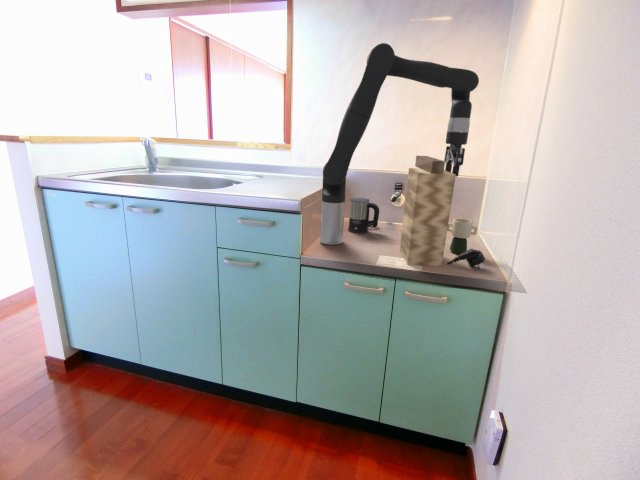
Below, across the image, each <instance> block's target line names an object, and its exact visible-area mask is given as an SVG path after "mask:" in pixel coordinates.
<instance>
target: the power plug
mask: <svg viewBox="0 0 640 480" xmlns="http://www.w3.org/2000/svg"><path fill="white" fill-rule="evenodd" d="M463 260H465V261H467V262H466V263H468V265H469V267H476V266H478V269H480V270H483V267H482V266H481V264H482V263H484V262H485V260H486V257H485V255H484V253H483V252H482V251H481V250H480V249H479V250H478V249H474V248H469V249H467V251H465V252H463V253H459V254H458V255H457V256H456V257H453V259H452V260H451V261H449V262H446V265H451V264H452V263H457V262H460V261H463Z"/></svg>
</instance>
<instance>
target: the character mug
mask: <svg viewBox="0 0 640 480" xmlns="http://www.w3.org/2000/svg"><path fill="white" fill-rule="evenodd" d="M473 224H474V221H473V220H471V219H469V218H462V217H459V218H457V217H456V218H453V220H452V222H448V228H447V232H451V236H452V237H453V238H452V240H451V244H450V246H449V250H450V251H451V252H453V253H455V254H462V253H463V252H465V251H467V250H468V239H469V238H470V237H471V236H476V235H477V233H478V227H477V226H474V225H473ZM450 226H451V228H450ZM472 230H473V232H472Z"/></svg>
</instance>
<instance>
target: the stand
mask: <svg viewBox="0 0 640 480" xmlns="http://www.w3.org/2000/svg"><path fill="white" fill-rule="evenodd" d="M407 174H408V175H407V181H406V191H405V198H404V199H405V200H404V201H405V202H404V209H403V210H404V211H403V220H402V229H401V237H400V246H399V252H400V253H401V255H402V257H403V259H404V261H405V263H406V265H408V266H409V265H410V266H411V265H412V266H430V267H431V266H432V267H442V266H443V260H444V253H445V248H446V242H447V241H446V240H447V236H448V235H447V233H448V231H447V228H448V223H450V222H449V221H450V215H451V208H452V202H453V194H454V188H455V182H456V178H457V177H456V174H453V173H452V172H451V173H450V172H448V171H445V169H444V173H443V174H431V173H429V172H427V171H424V170H422V169H420V168H418V167H415V168H414V167H409V168H408V173H407Z"/></svg>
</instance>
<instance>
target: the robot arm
mask: <svg viewBox="0 0 640 480" xmlns="http://www.w3.org/2000/svg"><path fill="white" fill-rule="evenodd" d="M387 76H388V77H396V78H402V79H406V80H411V81H414V82H418V83H421V84H425V85H428V86H431V87H437V88H442V89H443V88H447V89H451V91H450V93H451V94H450V95H451V106H450V114H449V119H448V124H447V130H446V138H445V144H446V145H447V146H445V147H446V148H445V152H444V153H445V154H444V160H443V161H445V167H444V170H445V171H448V172H450V173H453V174H456V177H455V178H457V177H458V176H459V175H460V169H461V166H463V164H464V161H465V160H464V158H465V152H466V148H465V147H462V146H463V145H464V146H465V145H467V144H468V138H469V132H470V124H471V113H472V106H473V104H472V101H470V99H471V96H470V95H471V92H473V91H474V90H476V88H478V86H479V81H480V79H479V76H478V74H477V73H476V72H475V71H473V70H471V69H465V68H458V67H450V66H447V65H444V64H440V63H436V62H432V61H425V60H414V59H407V58H404V57H400V56H398V55H396V54H395V51H394V49H393V47H392V46H391V45H390V44H389V43H387V42H383V43H382V42H381V43H378V44H376V45H375V46H373V47H372V48H371V49H370V51H369V53H368V55H367V58H366V66H365V69H364V71H363V75H362V77H361V80H360V82H359V85H358V87H357V88H356V91H355V92H354V94H353V96H352V98H351V100H350V102H349V104H348V106H347V109H346V111H345V113H344V115H343V119H342V121H341V124H340V127H339V131H338V135H337V138H336V139H337V140H336V142H335V146H334V148H333V150H332V153H331V154H330V157H329V158H328V160H327V162H326V163H324V166H323V168H322V189H321V216H320V217H321V219H320V236H319V237H320V240H319V243H320V244H324V245H329V246H336V245H341V244H343V241H344V223H345V221H344V220H345V208H346V207H345V205H346V204H345V203H346V185H347V184H346V183H347V182H346V181H347V175H348V171H349V167H350V164H351V162H352V157H353V155H354V153H355V151H356V149H357V147H358V146H359V143H360V142H361V139H362V138H363V135H364V133H365V131H366V129H367V127H368V125H369V122H370V120H371V117H372V114H373V112H374V109H375V105H376V103H377V99H378V98H379V93H380V91H381V88H382V86H383V84H384V82H385V80H386V79H387ZM448 145H449V146H448Z"/></svg>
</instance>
